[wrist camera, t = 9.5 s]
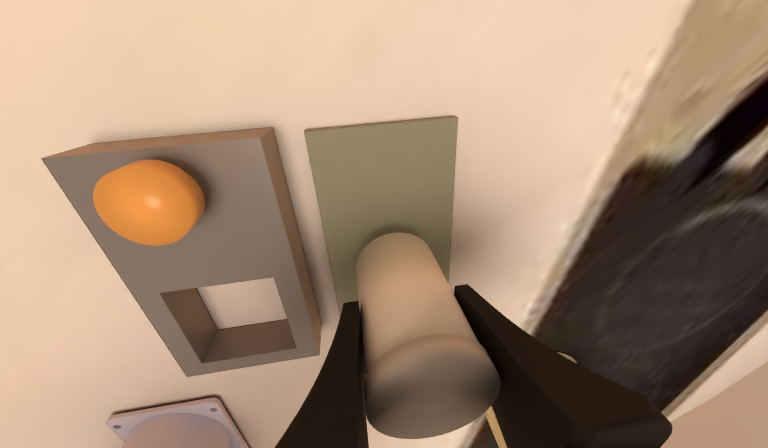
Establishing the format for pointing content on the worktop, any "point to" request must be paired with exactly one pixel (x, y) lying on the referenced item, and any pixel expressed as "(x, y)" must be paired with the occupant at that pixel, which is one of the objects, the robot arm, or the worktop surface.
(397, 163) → the mat
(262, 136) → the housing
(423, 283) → the cylinder
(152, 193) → the button
